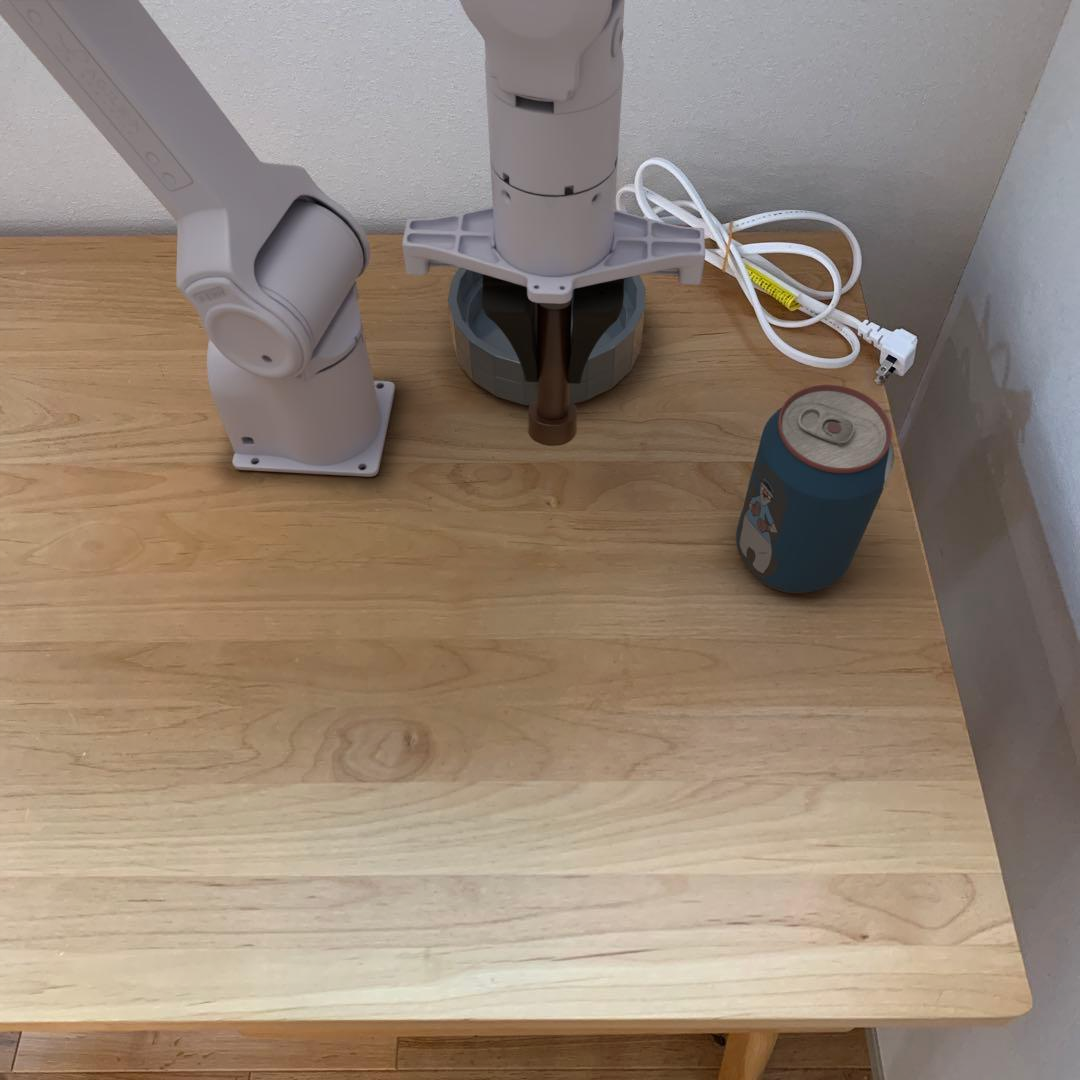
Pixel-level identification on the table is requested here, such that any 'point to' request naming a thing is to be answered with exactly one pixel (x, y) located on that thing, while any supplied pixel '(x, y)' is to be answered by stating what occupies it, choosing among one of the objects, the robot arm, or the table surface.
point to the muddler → (553, 378)
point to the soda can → (814, 487)
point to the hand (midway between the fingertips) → (553, 369)
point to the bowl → (498, 364)
